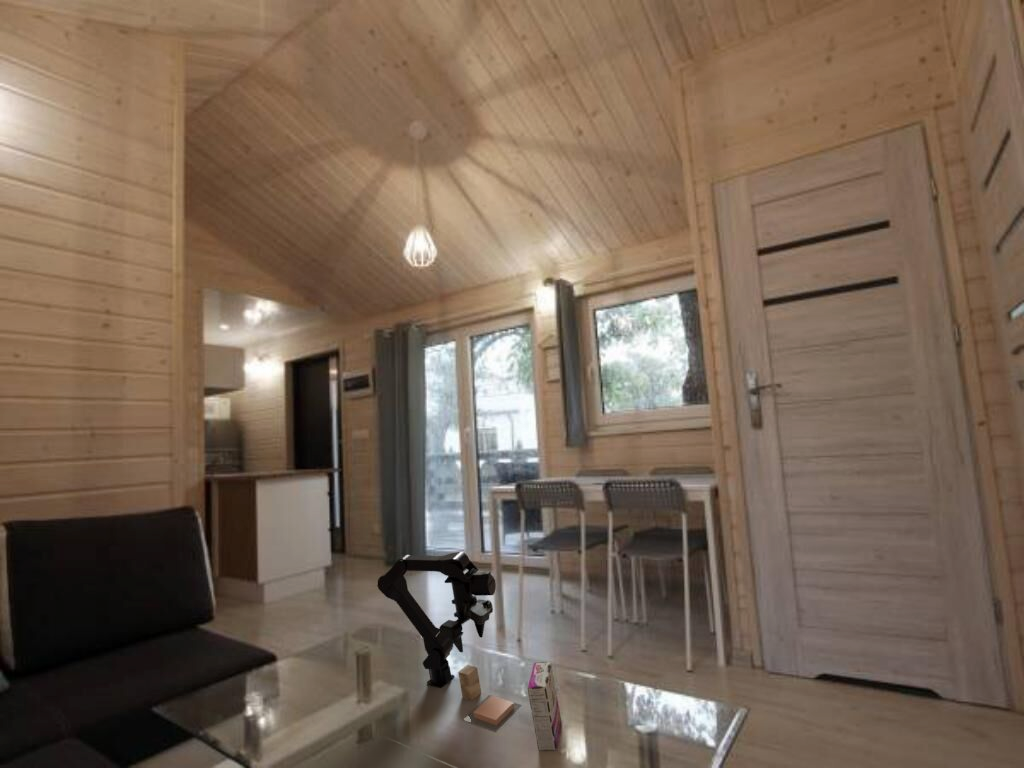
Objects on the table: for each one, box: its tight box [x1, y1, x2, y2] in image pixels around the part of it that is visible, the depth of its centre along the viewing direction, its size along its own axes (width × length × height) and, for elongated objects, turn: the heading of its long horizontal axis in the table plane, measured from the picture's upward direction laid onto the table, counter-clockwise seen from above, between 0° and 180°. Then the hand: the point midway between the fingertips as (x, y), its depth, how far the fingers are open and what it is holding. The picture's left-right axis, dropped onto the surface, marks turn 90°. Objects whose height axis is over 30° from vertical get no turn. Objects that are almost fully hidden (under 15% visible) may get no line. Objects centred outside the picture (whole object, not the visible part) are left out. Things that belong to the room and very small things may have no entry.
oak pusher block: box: [458, 664, 482, 701], centre depth 163 cm, size 4×4×8 cm
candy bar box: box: [526, 661, 562, 752], centre depth 140 cm, size 11×5×16 cm, turn 168°
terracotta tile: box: [473, 695, 515, 726], centre depth 153 cm, size 2×8×8 cm
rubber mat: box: [467, 694, 522, 733], centre depth 153 cm, size 12×12×1 cm
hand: (471, 644), depth 169 cm, fingers open, 9 cm apart
